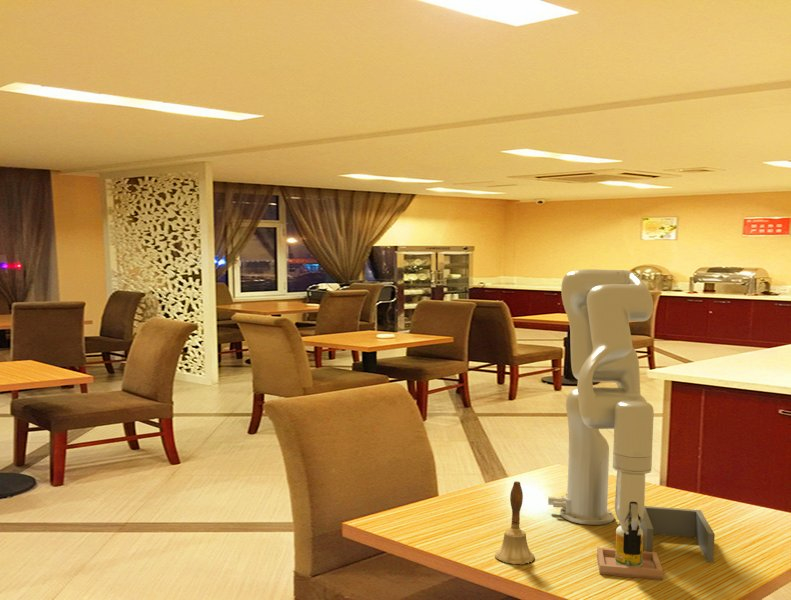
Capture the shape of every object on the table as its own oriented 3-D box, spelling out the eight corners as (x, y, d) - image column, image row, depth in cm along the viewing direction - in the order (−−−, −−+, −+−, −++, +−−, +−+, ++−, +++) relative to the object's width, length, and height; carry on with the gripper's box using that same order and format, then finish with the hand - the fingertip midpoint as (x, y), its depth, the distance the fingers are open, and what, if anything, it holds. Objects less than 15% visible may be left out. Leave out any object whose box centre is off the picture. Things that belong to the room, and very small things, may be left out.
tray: (599, 574, 157) (600, 565, 156) (596, 555, 166) (597, 547, 166) (662, 580, 154) (663, 571, 154) (656, 560, 164) (656, 552, 164)
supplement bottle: (633, 558, 164) (635, 513, 163) (647, 568, 158) (649, 521, 158) (610, 560, 162) (611, 514, 162) (623, 570, 157) (624, 523, 157)
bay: (646, 556, 166) (647, 528, 166) (638, 531, 182) (639, 505, 181) (713, 562, 164) (714, 534, 163) (699, 536, 179) (700, 510, 179)
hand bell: (492, 549, 169) (494, 476, 168) (531, 550, 169) (533, 477, 168) (496, 564, 161) (498, 487, 160) (537, 565, 160) (539, 488, 160)
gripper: (609, 450, 168) (607, 528, 169) (616, 472, 151) (613, 559, 152) (646, 452, 167) (643, 531, 168) (657, 475, 150) (653, 562, 151)
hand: (629, 544), depth 160 cm, fingers open, 9 cm apart
